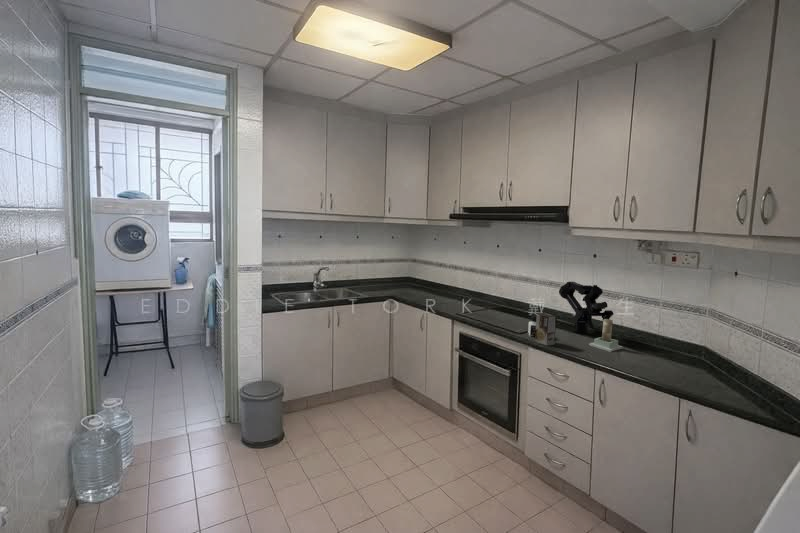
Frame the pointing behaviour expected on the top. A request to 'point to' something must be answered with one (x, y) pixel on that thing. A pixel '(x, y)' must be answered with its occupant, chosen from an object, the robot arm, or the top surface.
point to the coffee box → (545, 328)
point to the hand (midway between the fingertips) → (600, 327)
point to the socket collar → (606, 344)
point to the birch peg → (607, 330)
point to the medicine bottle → (532, 326)
